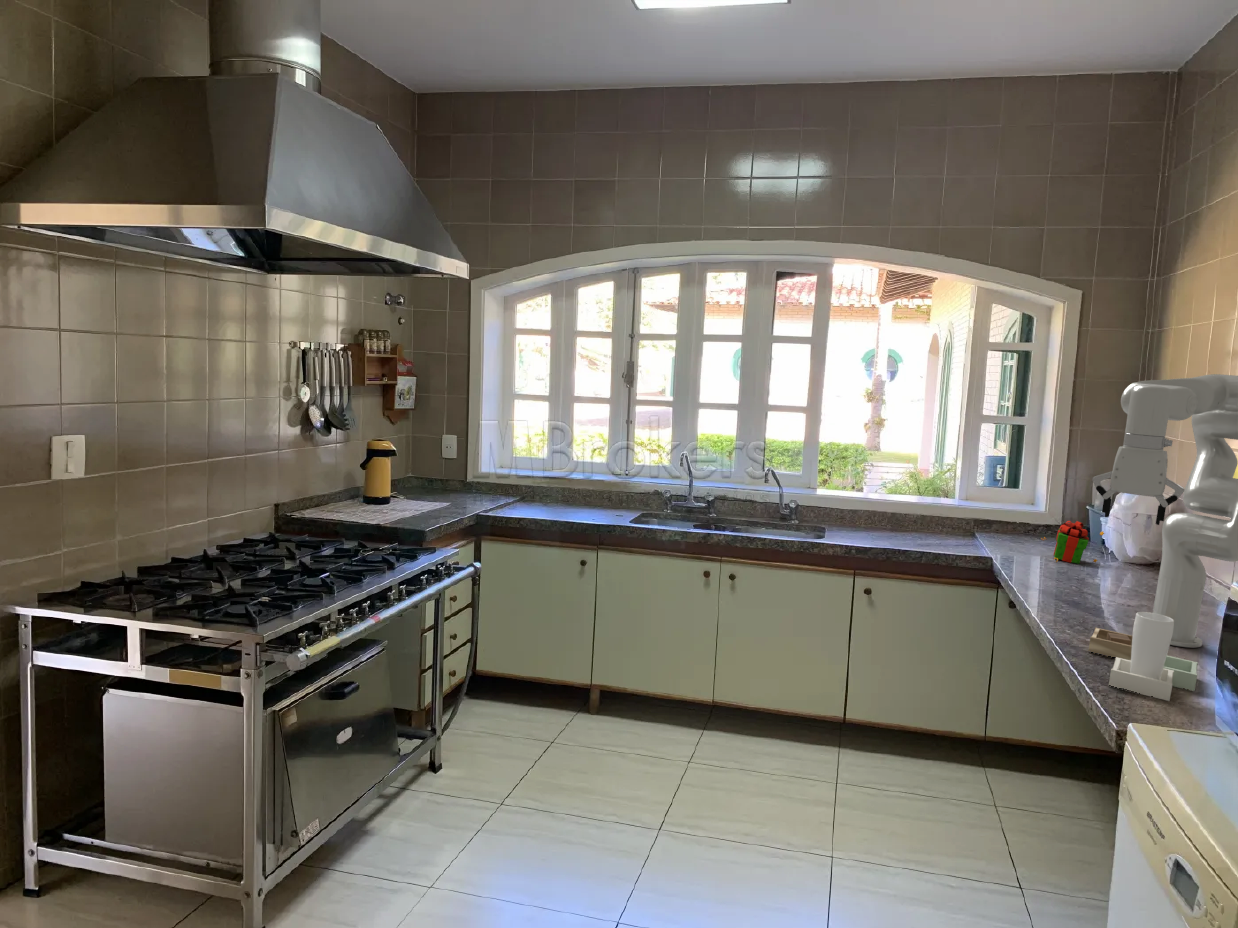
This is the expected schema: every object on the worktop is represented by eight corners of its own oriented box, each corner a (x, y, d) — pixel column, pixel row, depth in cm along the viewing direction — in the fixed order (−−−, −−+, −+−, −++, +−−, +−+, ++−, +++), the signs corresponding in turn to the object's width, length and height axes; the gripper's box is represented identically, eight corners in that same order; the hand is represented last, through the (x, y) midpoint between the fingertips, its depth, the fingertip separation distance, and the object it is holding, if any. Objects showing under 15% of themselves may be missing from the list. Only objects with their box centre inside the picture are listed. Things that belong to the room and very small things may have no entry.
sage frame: (1138, 664, 190) (1140, 649, 190) (1195, 677, 185) (1197, 662, 184) (1134, 676, 182) (1137, 661, 182) (1194, 691, 176) (1197, 674, 176)
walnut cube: (1104, 648, 200) (1107, 632, 200) (1124, 652, 199) (1127, 635, 199) (1108, 653, 197) (1110, 637, 196) (1127, 657, 195) (1130, 640, 195)
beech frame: (1092, 641, 205) (1095, 627, 205) (1144, 653, 199) (1146, 638, 199) (1088, 651, 197) (1090, 637, 196) (1141, 664, 191) (1144, 649, 190)
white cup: (1165, 696, 172) (1178, 624, 170) (1127, 688, 174) (1139, 617, 172) (1158, 684, 178) (1170, 615, 176) (1121, 677, 181) (1133, 609, 179)
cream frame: (1113, 672, 184) (1115, 656, 183) (1171, 686, 178) (1174, 670, 177) (1108, 685, 175) (1111, 669, 175) (1169, 701, 169) (1172, 684, 169)
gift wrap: (1096, 574, 288) (1108, 534, 284) (1036, 559, 295) (1047, 519, 292) (1093, 560, 305) (1105, 522, 302) (1036, 545, 313) (1047, 508, 309)
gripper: (1191, 446, 184) (1178, 524, 186) (1099, 437, 193) (1088, 511, 196) (1191, 449, 177) (1178, 529, 180) (1096, 439, 187) (1085, 516, 189)
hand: (1131, 520), depth 188 cm, fingers open, 9 cm apart
